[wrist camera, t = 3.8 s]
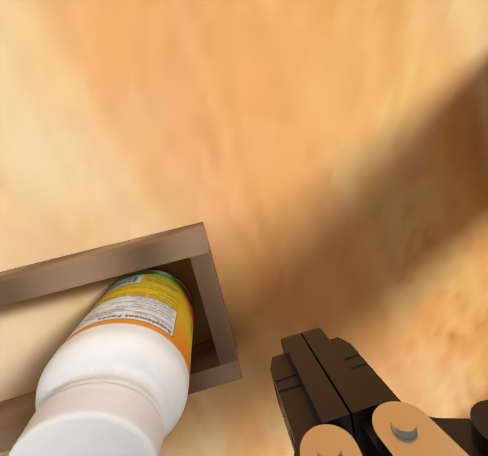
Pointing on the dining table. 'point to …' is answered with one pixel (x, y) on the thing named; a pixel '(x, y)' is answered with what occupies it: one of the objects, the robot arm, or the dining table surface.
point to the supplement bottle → (117, 374)
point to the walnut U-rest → (115, 264)
